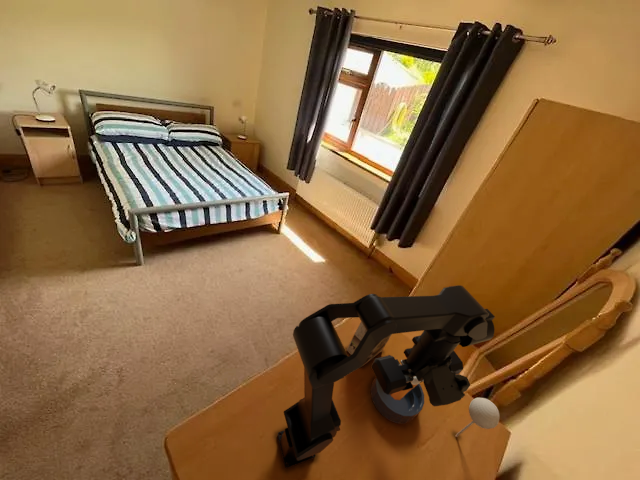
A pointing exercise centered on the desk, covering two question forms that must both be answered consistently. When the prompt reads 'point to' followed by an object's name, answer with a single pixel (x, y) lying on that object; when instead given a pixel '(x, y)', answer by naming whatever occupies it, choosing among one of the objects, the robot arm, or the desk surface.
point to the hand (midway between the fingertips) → (402, 387)
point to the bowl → (397, 403)
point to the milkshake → (402, 393)
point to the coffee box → (358, 337)
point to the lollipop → (482, 414)
